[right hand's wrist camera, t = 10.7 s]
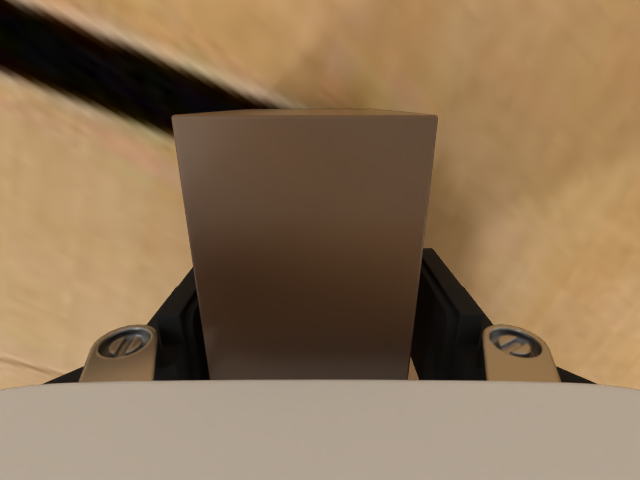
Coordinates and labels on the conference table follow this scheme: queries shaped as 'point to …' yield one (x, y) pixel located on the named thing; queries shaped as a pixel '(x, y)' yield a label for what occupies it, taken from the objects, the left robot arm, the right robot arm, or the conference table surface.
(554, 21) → the conference table surface
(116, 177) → the conference table surface
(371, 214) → the bar
